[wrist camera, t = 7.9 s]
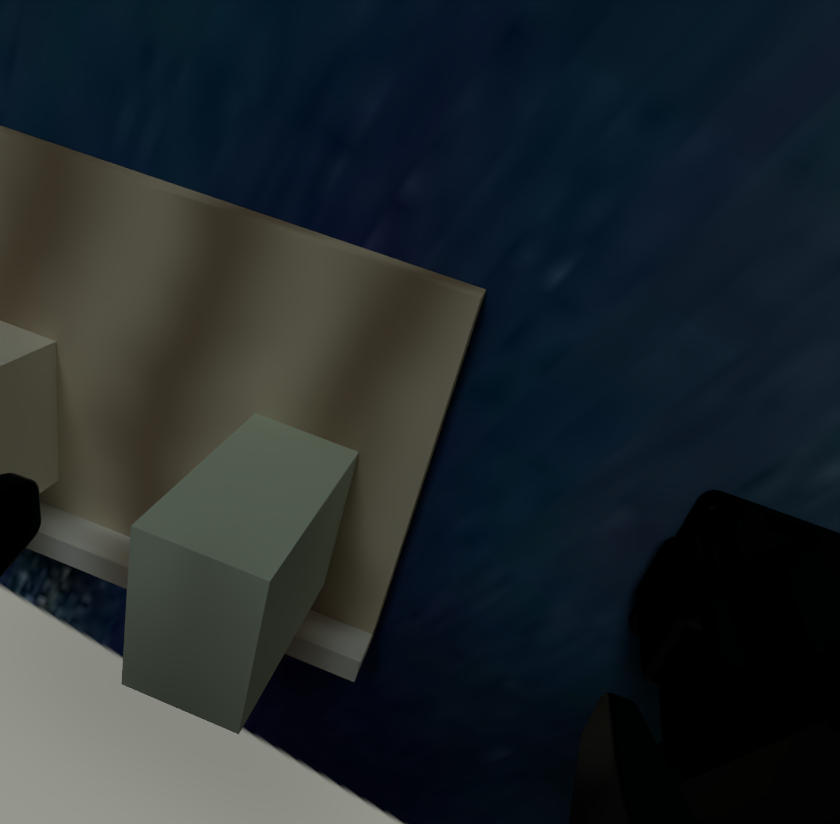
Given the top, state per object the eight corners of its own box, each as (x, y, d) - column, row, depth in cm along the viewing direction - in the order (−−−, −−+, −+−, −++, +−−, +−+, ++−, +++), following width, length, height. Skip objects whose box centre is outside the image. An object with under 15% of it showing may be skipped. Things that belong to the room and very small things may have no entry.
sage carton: (358, 451, 23) (269, 581, 17) (323, 586, 26) (238, 736, 20) (255, 413, 23) (130, 525, 17) (233, 550, 26) (121, 687, 20)
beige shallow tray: (486, 289, 20) (472, 312, 18) (372, 639, 28) (353, 685, 26) (-42, 111, 22) (-112, 112, 20) (-11, 485, 30) (-60, 516, 28)
